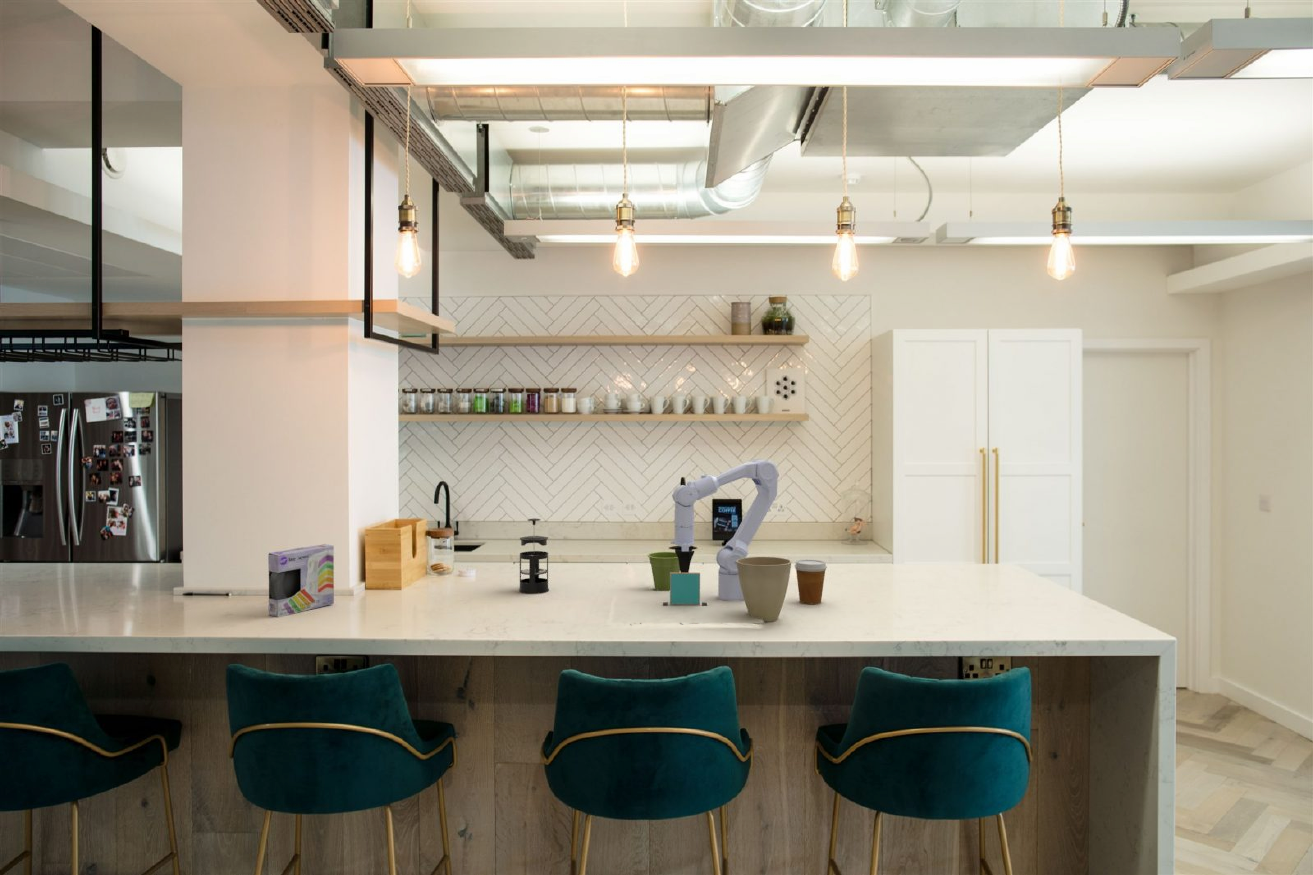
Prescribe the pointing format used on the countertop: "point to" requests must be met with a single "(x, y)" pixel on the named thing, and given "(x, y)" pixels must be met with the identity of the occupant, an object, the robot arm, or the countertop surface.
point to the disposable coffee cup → (810, 580)
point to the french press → (534, 565)
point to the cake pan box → (300, 579)
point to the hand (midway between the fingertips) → (684, 572)
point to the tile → (684, 588)
